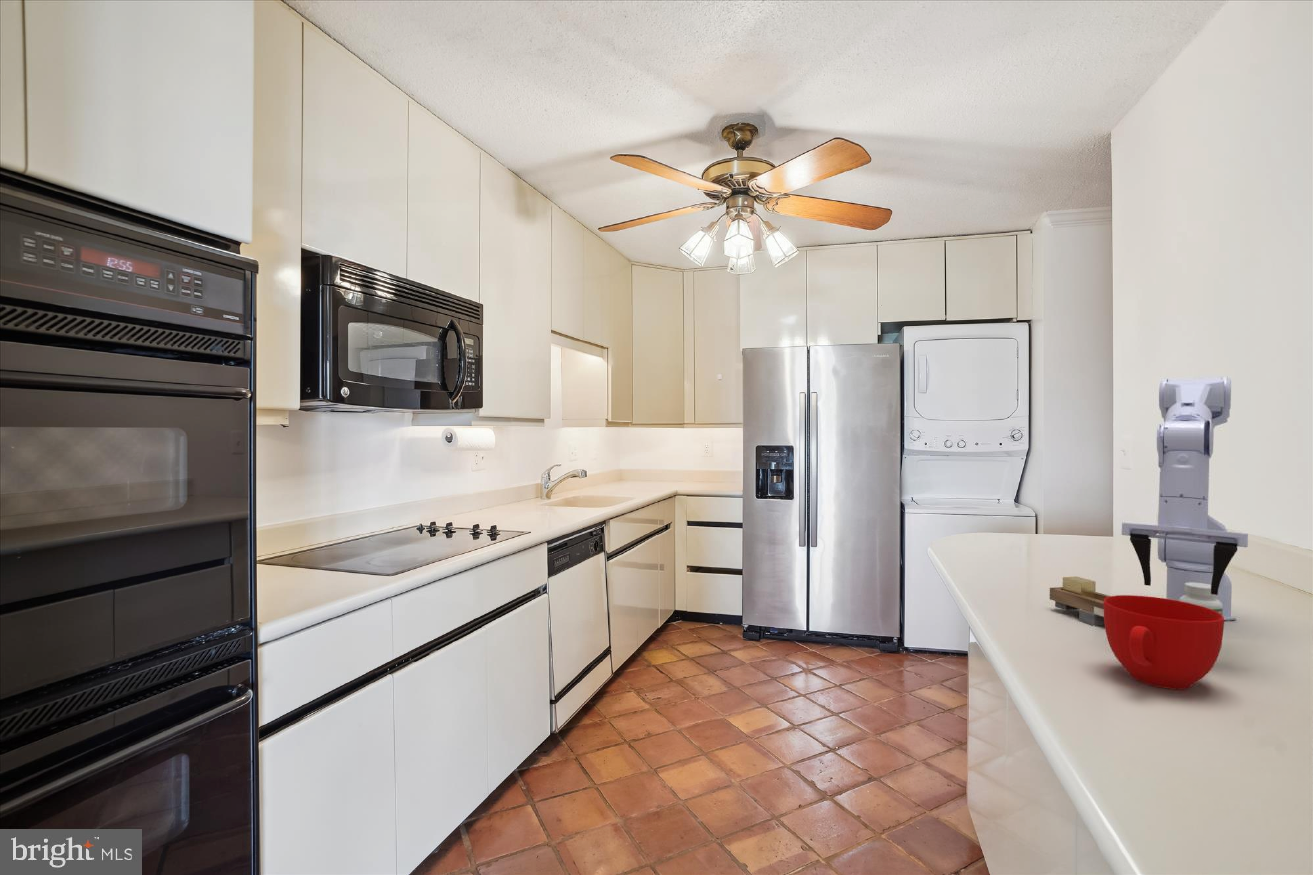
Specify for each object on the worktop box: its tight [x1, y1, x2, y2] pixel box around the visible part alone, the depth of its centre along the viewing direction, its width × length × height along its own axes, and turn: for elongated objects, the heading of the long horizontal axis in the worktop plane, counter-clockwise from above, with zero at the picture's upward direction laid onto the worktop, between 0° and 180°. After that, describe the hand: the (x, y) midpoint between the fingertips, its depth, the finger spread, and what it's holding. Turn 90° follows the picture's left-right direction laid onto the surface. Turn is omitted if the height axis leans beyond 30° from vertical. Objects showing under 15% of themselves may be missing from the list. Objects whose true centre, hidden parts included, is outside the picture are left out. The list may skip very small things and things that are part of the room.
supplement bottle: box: [1179, 582, 1223, 648], centre depth 102 cm, size 5×5×10 cm
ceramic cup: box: [1103, 594, 1225, 690], centre depth 86 cm, size 13×17×10 cm
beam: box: [1049, 586, 1110, 626], centre depth 113 cm, size 7×17×4 cm, turn 13°
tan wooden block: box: [1062, 576, 1097, 599], centre depth 118 cm, size 3×4×3 cm
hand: (1179, 589), depth 95 cm, fingers open, 7 cm apart
